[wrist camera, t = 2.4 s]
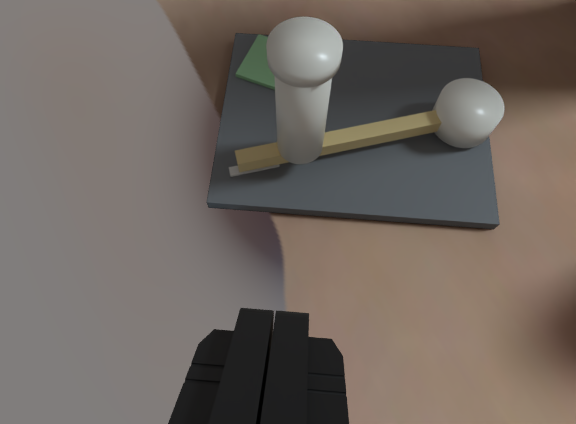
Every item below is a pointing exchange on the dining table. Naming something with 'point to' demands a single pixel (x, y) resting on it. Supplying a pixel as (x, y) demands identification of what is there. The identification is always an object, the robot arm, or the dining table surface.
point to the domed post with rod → (316, 142)
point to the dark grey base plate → (365, 160)
